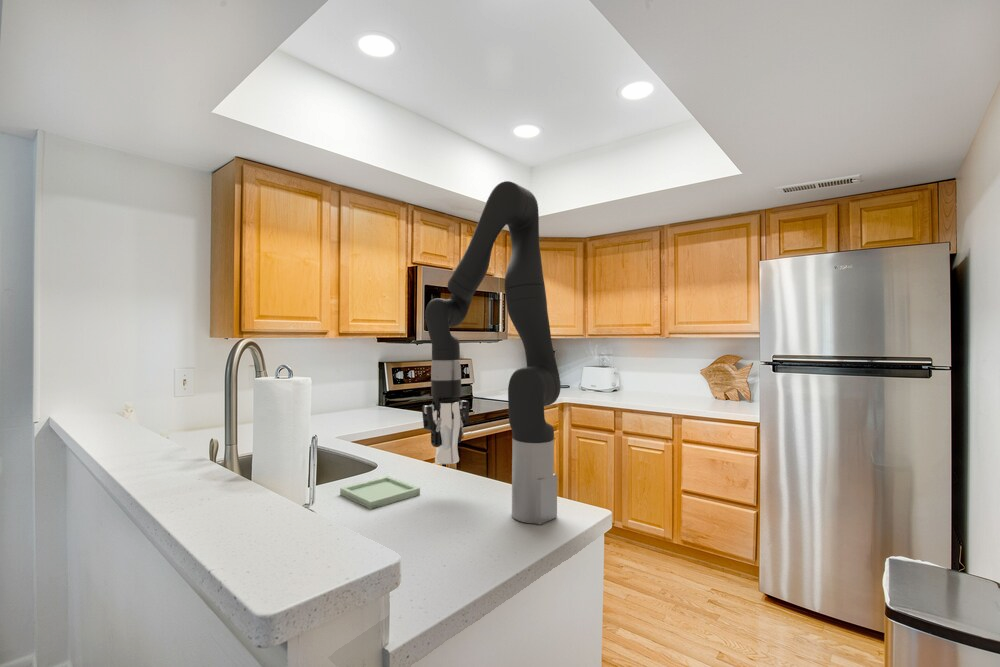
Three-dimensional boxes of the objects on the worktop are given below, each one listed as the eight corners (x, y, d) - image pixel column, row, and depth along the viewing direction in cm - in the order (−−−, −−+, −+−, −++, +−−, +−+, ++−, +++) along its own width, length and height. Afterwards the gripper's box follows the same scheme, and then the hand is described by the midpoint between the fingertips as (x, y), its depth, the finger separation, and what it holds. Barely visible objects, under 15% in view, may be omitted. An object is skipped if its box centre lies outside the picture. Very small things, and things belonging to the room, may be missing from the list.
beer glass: (428, 463, 117) (427, 403, 118) (440, 457, 124) (439, 399, 124) (454, 465, 115) (453, 403, 116) (465, 458, 122) (464, 400, 122)
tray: (419, 494, 119) (420, 488, 119) (370, 509, 109) (370, 502, 109) (388, 482, 129) (388, 476, 129) (340, 494, 119) (340, 488, 119)
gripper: (433, 380, 112) (434, 451, 112) (476, 376, 123) (477, 441, 122) (413, 379, 117) (414, 447, 117) (457, 375, 128) (458, 437, 128)
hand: (447, 444), depth 120 cm, fingers closed on beer glass, 6 cm apart
